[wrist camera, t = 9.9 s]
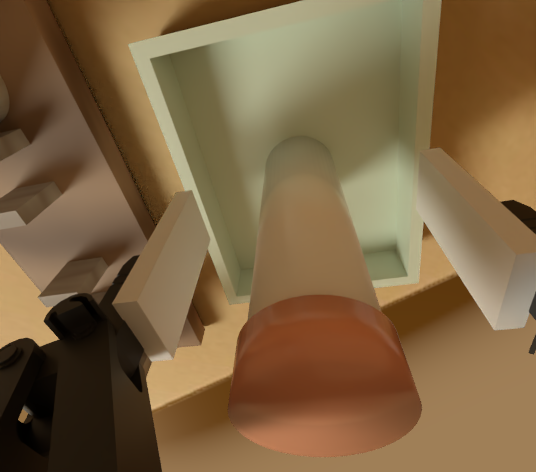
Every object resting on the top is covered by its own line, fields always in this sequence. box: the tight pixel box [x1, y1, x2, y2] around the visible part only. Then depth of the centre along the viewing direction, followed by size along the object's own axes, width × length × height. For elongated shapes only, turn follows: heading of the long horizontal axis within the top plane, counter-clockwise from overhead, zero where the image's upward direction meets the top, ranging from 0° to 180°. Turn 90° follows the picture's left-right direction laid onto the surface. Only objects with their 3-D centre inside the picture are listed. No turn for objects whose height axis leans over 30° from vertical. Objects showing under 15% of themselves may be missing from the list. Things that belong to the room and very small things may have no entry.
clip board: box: [0, 0, 205, 376], centre depth 18 cm, size 23×9×4 cm, turn 12°
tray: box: [128, 0, 442, 305], centre depth 16 cm, size 14×11×3 cm
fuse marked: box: [228, 136, 422, 457], centre depth 12 cm, size 4×4×13 cm
